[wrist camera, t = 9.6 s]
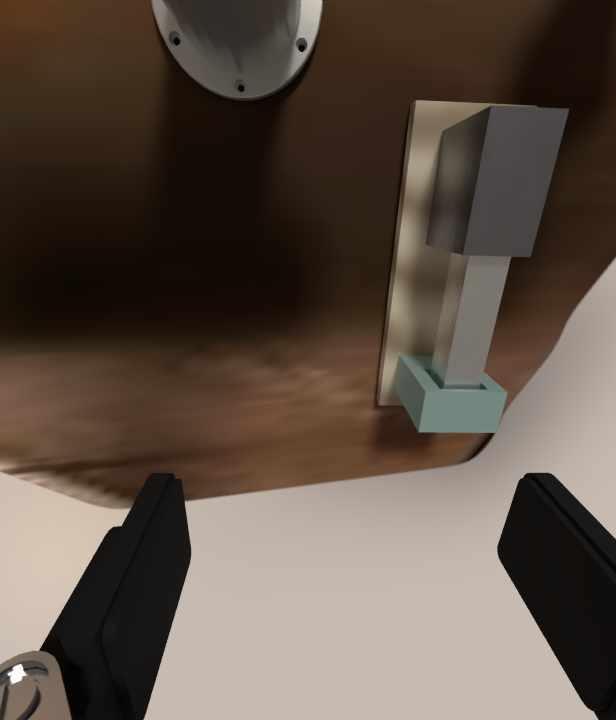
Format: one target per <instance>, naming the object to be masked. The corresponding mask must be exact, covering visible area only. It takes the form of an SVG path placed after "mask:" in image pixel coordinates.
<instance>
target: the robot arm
mask: <svg viewBox="0 0 616 720" xmlns="http://www.w3.org/2000/svg"><path fill="white" fill-rule="evenodd" d="M151 2H152V8H153V12H154V15H155V18H156V21H157V24H158V27H159V30H160V33H161V35H162V37H163V39H164V41H165V43H166V45H167V47H168V49H169V50H170V52H171V53H172V55H173V56H174V57H175V59H176V60H177V62H178V63H179V64H180V66H181V67H182V68H183V69H184V70H185V71H186V73H187V74H188V75H189V76H190V77H191V78H193V79H194V80H195V81H196V82H197V83H198V84H200V85H201V86H202V87H203V88H205V89H207V90H209V91H210V92H212V93H214V94H216V95H218V96H221V97H224V98H227V99H230V100H238V101H252V100H260V99H263V98H266V97H268V96H271V95H274V94H275V93H277V92H279V91H280V90H282V89H283V88H285V87H286V86H287V85H288V84H289V83H290V82H291V81H292V80H293V79H294V78H295V77H296V76H297V75H298V74H299V73H300V72H301V70H302V69H303V67H304V66H305V64H306V63H307V61H308V59H309V57H310V55H311V53H312V50H313V48H314V46H315V43H316V40H317V36H318V32H319V28H320V24H321V16H322V10H323V0H151ZM176 40H180V41H181V42H180V44H179V45H177V46H176V45H175V41H176ZM300 46H303V47H304V48H305V50H304V51H303V52H300V51H299V50H298V48H299V47H300ZM240 86H244V87H245V89H244V91H243V92H240V91H239V87H240ZM497 551H498V556H499V559H500V561H501V563H502V565H503V566H504V568H505V570H506V571H507V573H508V575H509V577H510V578H511V580H512V582H513V584H514V585H515V587H516V589H517V590H518V592H519V594H520V595H521V597H522V599H523V601H524V602H525V604H526V606H527V608H528V609H529V611H530V613H531V614H532V616H533V618H534V620H535V621H536V623H537V625H538V626H539V628H540V630H541V632H542V633H543V635H544V637H545V638H546V640H547V642H548V644H549V645H550V647H551V649H552V651H553V652H554V654H555V656H556V657H557V659H558V661H559V662H560V664H561V666H562V668H563V669H564V671H565V673H566V674H567V676H568V678H569V680H570V681H571V683H572V685H573V687H574V688H575V690H576V692H577V693H578V695H579V697H580V698H581V700H582V701H583V703H584V704H585V705H586V707H587V708H588V709H590V710H592V711H594V713H595V715H596V716H597V718H598V720H616V539H615V538H614V537H613V536H612V535H611V534H610V533H609V532H608V531H607V530H606V529H605V528H604V527H603V526H602V525H601V524H600V523H599V521H597V519H596V518H595V517H594V516H593V515H592V514H591V513H590V512H589V511H588V510H587V509H586V508H585V507H584V506H583V505H582V504H581V503H580V502H579V501H578V500H577V499H576V498H575V497H574V496H573V495H572V494H571V493H570V492H569V491H568V490H567V488H565V486H563V484H562V483H561V482H560V481H559V480H558V479H557V478H556V477H555V476H554V475H552V474H550V473H527V474H525V475H524V477H523V478H522V479H520V480H519V482H518V485H517V488H516V491H515V494H514V497H513V500H512V503H511V507H510V510H509V512H508V516H507V519H506V522H505V525H504V528H503V531H502V534H501V537H500V541H499V543H498V547H497ZM190 559H191V545H190V538H189V531H188V523H187V516H186V509H185V502H184V494H183V487H182V481H181V479H175V476H174V474H172V473H152V474H150V475H149V477H148V478H147V480H146V482H145V484H144V486H143V487H142V489H141V491H140V493H139V495H138V497H137V498H136V500H135V502H134V504H133V506H132V508H131V510H130V511H129V514H128V515H127V517H126V519H125V521H124V522H123V524H122V526H119V527H113V528H111V529H110V530H109V531H108V533H107V534H106V535H105V537H104V539H103V541H102V542H101V544H100V546H99V547H98V549H97V551H96V553H95V554H94V556H93V558H92V560H91V561H90V563H89V565H88V567H87V568H86V570H85V572H84V574H83V575H82V577H81V579H80V581H79V582H78V584H77V586H76V587H75V589H74V591H73V593H72V594H71V596H70V598H69V600H68V601H67V603H66V605H65V606H64V608H63V610H62V612H61V614H60V615H59V617H58V619H57V620H56V622H55V624H54V626H53V627H52V629H51V631H50V632H49V634H48V636H47V638H46V639H45V641H44V643H43V645H42V646H41V648H40V650H39V651H31V652H27V653H23V654H19V655H17V656H15V657H13V658H11V659H9V660H7V661H5V662H3V663H2V664H1V665H0V720H143V719H144V717H145V714H146V711H147V708H148V704H149V701H150V697H151V693H152V691H153V687H154V684H155V680H156V677H157V674H158V670H159V667H160V663H161V660H162V656H163V653H164V650H165V646H166V643H167V639H168V636H169V632H170V629H171V626H172V622H173V619H174V616H175V612H176V609H177V606H178V602H179V599H180V595H181V592H182V589H183V585H184V582H185V578H186V575H187V571H188V568H189V564H190Z"/></svg>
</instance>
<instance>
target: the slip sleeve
mask: <svg viewBox="0 0 616 720" xmlns="http://www.w3.org/2000/svg"><path fill="white" fill-rule="evenodd" d="M568 112H569V109H561V108H539V107H516V106H494V105H491V106H489V107H487V108H485V109H483V110H481V111H480V112H478V113H476V114H474V115H472V116H470V117H468V118H466V119H464V120H462V121H460V122H458V123H457V124H455V125H453V126H451V127H449V128H447V129H445V130H443V131H442V137H441V144H440V151H439V158H438V164H437V171H436V178H435V184H434V191H433V198H432V205H431V211H430V218H429V225H428V231H427V238H426V245H428V246H431V247H435V248H439V249H442V250H446V251H449V252H453V253H456V254H460V255H469V256H507V257H531V254H532V250H533V246H534V242H535V238H536V235H537V231H538V227H539V223H540V219H541V215H542V212H543V208H544V204H545V200H546V196H547V192H548V189H549V185H550V181H551V177H552V173H553V169H554V166H555V162H556V158H557V154H558V150H559V146H560V143H561V139H562V135H563V131H564V127H565V123H566V120H567V116H568Z"/></svg>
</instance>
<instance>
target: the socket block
mask: <svg viewBox="0 0 616 720" xmlns="http://www.w3.org/2000/svg"><path fill="white" fill-rule="evenodd" d="M432 360H433V356H425V355H400V356H399V363H398V370H397V377H396V385H395V391H396V392H397V394H398V396H399V398H400V400H401V401H402V403H403V405H404V407H405V409H406V410H407V412H408V414H409V416H410V418H411V419H412V421H413V423H414V425H415V427H416V429H417V430H418V432H466V433H497V429H498V426H499V422H500V419H501V415H502V411H503V408H504V404H505V400H506V397H507V393H508V392H506V391H505V390H504V389H503V388H502V387H501V386H500V385H498V384H497V383H496V382H495V381H494V380H493V379H491V378H490V377H489V376H488V375H487V374H486V373H485V372H483V376H482V380H481V385H480V389H479V390H474V389H439V387H438V386H437V385H436V384H435V382H434V381H433V380H432V379H431V377H430V372H431V366H432Z"/></svg>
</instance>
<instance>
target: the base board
mask: <svg viewBox="0 0 616 720" xmlns="http://www.w3.org/2000/svg"><path fill="white" fill-rule="evenodd" d="M491 105H494V106H516V107H537V106H530V105H508V104H486V103H464V102H441V101H419V100H416V101H415V102H414V103H413V104H411V106H410V115H409V123H408V132H407V140H406V149H405V157H404V166H403V174H402V183H401V192H400V200H399V209H398V217H397V226H396V234H395V243H394V252H393V260H392V269H391V277H390V286H389V294H388V303H387V312H386V320H385V329H384V337H383V346H382V354H381V363H380V371H379V380H378V389H377V397H376V399H377V401H378V404H379V405H399V406H404V405H403V403H402V401H401V400H400V398H399V396H398V394H397V392H396V391H395V385H396V377H397V370H398V363H399V356H400V355H425V356H433V355H434V349H435V343H436V338H437V332H438V326H439V321H440V315H441V310H442V304H443V298H444V293H445V287H446V281H447V276H448V270H449V264H450V259H451V253H452V252H449V251H446V250H442V249H439V248H435V247H431V246H428V245H426V238H427V231H428V225H429V218H430V211H431V205H432V198H433V191H434V184H435V178H436V171H437V164H438V158H439V151H440V144H441V137H442V131H443V130H445V129H447V128H449V127H451V126H453V125H455V124H457V123H458V122H460V121H462V120H464V119H466V118H468V117H470V116H472V115H474V114H476V113H478V112H480V111H481V110H483V109H485V108H487V107H489V106H491Z"/></svg>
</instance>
